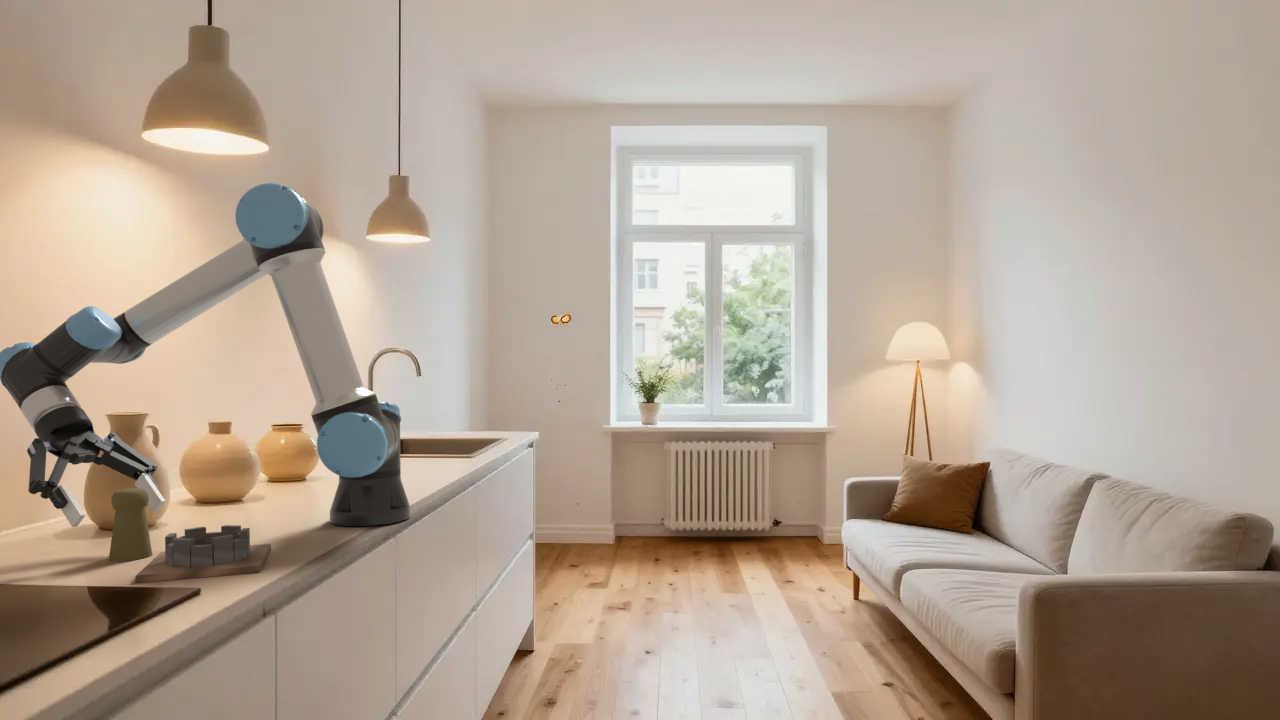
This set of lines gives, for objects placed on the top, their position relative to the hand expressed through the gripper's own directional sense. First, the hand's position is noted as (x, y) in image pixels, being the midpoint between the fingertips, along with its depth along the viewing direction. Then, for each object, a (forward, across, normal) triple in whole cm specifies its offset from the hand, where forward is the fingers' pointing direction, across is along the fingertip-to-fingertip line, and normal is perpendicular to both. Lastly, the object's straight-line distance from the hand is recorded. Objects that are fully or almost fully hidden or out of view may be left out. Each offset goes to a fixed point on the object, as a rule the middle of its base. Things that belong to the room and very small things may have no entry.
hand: (121, 513), depth 132 cm
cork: (+6, 0, -4) cm, 7 cm away
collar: (+18, 0, +8) cm, 20 cm away
